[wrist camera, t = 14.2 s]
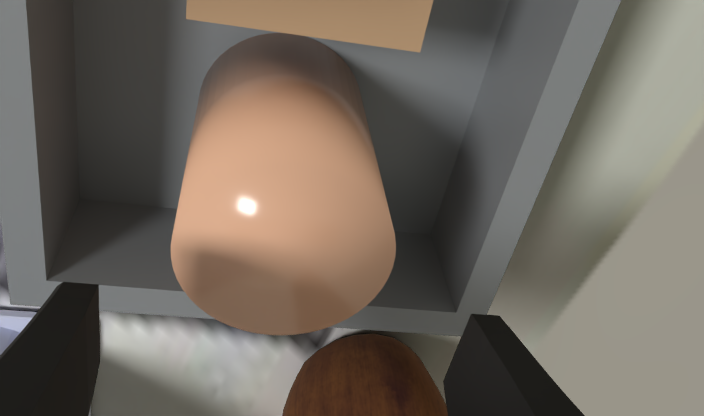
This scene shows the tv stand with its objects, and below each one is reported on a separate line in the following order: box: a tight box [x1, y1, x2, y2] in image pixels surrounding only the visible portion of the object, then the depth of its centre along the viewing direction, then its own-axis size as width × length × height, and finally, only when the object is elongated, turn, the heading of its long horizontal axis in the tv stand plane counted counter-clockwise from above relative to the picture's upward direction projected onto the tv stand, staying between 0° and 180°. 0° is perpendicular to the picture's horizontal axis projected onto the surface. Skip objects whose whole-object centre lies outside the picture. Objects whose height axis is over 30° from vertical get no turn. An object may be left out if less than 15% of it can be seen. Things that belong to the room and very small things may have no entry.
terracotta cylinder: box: [171, 33, 396, 335], centre depth 18 cm, size 5×5×7 cm
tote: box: [0, 0, 621, 336], centre depth 17 cm, size 18×14×5 cm
